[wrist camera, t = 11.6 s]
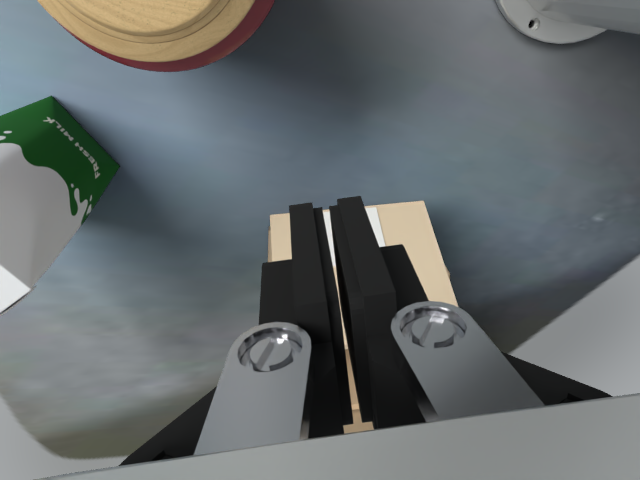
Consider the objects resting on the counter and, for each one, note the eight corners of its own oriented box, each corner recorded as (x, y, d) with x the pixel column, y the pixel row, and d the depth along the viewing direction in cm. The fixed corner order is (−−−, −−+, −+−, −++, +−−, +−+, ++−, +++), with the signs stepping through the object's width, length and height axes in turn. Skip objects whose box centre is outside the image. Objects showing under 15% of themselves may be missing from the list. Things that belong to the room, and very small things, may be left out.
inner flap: (422, 206, 39) (423, 199, 38) (464, 337, 32) (467, 331, 31) (270, 220, 39) (269, 214, 38) (277, 356, 31) (276, 351, 31)
